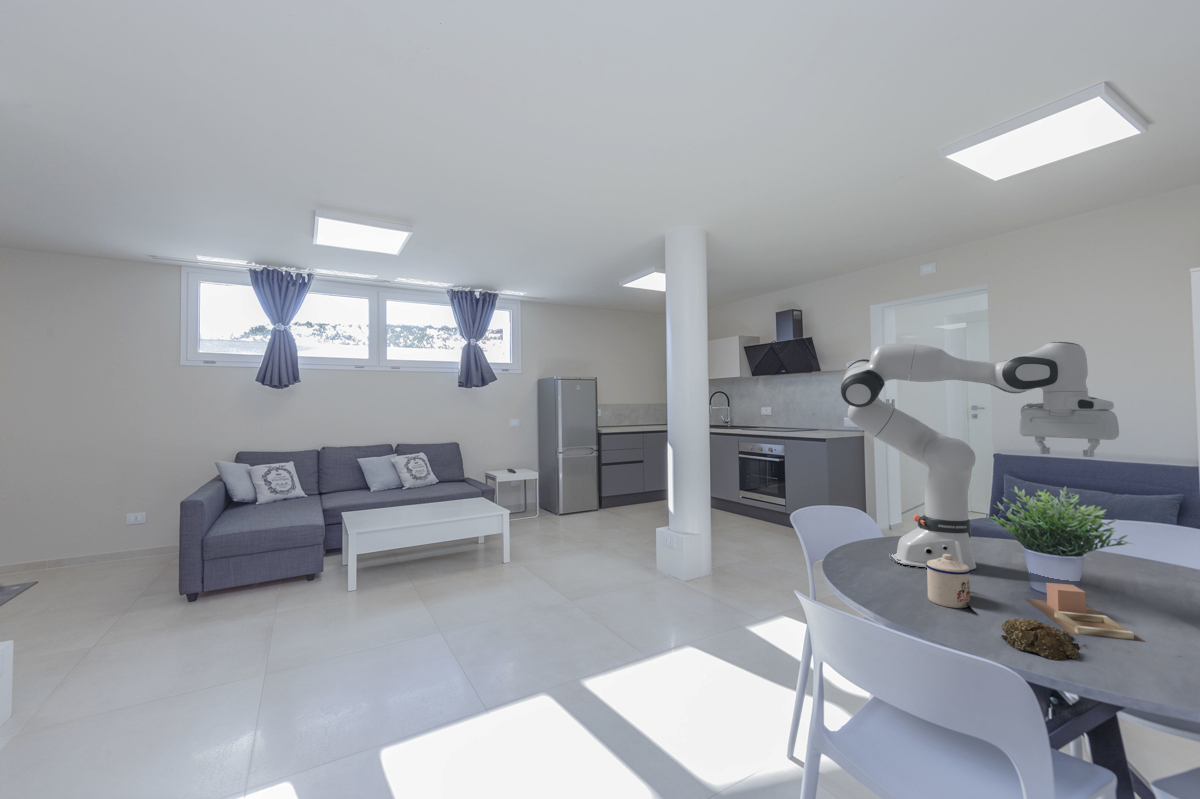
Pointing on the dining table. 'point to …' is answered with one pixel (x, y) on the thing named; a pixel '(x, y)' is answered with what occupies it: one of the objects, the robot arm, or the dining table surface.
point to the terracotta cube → (1066, 598)
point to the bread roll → (1040, 639)
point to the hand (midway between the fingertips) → (1066, 455)
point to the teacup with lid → (948, 582)
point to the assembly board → (1085, 622)
